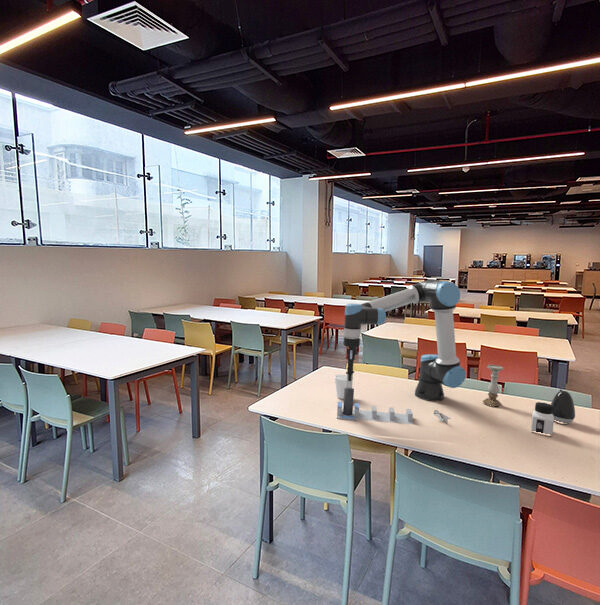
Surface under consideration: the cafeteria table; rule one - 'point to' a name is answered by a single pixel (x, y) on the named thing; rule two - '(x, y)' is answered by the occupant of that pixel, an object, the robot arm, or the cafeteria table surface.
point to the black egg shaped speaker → (563, 407)
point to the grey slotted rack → (376, 415)
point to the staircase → (441, 416)
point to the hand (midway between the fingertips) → (349, 386)
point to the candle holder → (493, 386)
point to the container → (542, 418)
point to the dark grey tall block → (348, 401)
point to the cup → (340, 385)
